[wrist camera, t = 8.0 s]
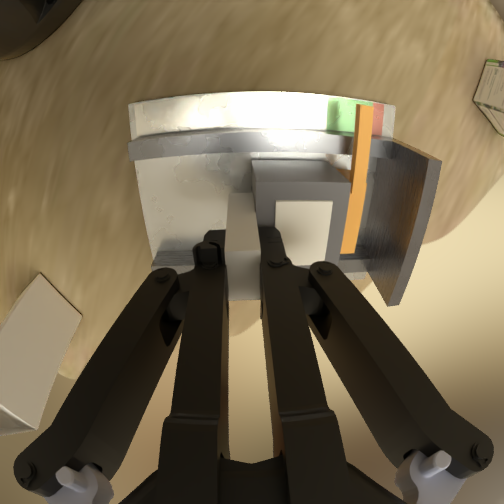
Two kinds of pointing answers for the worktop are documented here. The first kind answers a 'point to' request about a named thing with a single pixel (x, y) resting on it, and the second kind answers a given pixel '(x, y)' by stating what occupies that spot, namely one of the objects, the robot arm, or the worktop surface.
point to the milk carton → (32, 353)
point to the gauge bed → (276, 148)
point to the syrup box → (492, 94)
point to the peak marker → (357, 176)
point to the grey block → (302, 207)
